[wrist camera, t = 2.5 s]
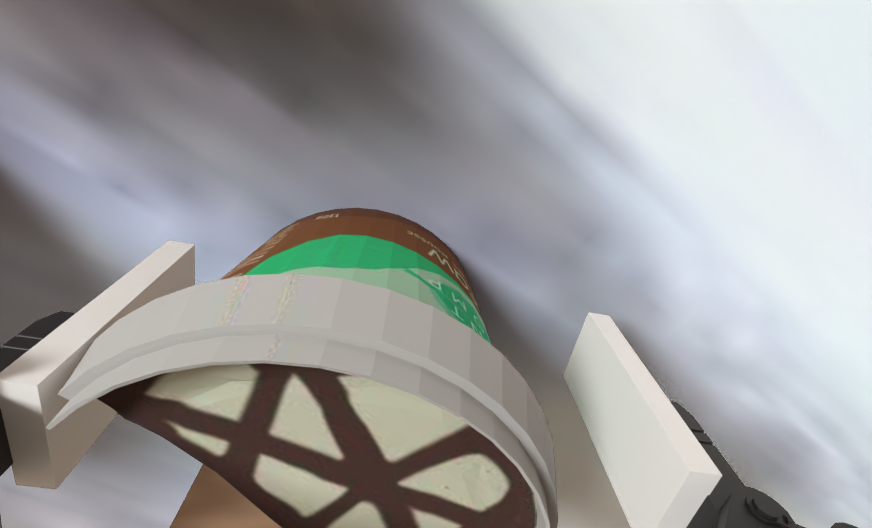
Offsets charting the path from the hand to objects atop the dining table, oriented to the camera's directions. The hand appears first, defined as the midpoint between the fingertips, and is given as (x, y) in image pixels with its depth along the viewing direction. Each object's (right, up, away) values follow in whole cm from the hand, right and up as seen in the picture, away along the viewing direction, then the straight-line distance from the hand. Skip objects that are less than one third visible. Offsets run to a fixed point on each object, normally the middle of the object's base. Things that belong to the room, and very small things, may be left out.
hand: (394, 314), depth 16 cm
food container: (0, +1, +3) cm, 3 cm away
